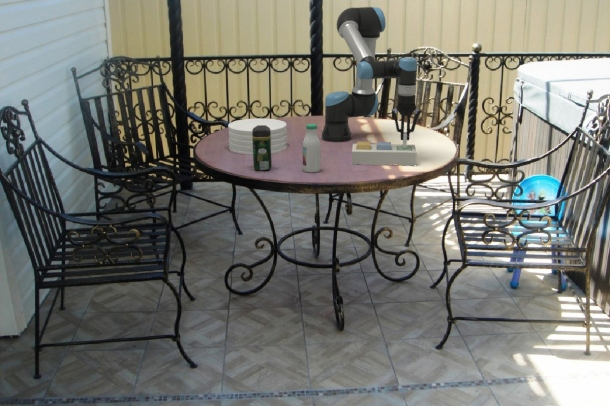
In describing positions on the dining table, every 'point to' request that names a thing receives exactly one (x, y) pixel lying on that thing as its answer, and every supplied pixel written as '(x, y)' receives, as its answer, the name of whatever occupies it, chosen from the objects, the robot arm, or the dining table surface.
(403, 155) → the key panel
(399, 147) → the key sage
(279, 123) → the plate stack
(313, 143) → the milk bottle
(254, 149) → the coffee jar
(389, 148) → the key blue
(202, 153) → the dining table surface
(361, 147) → the key ochre
